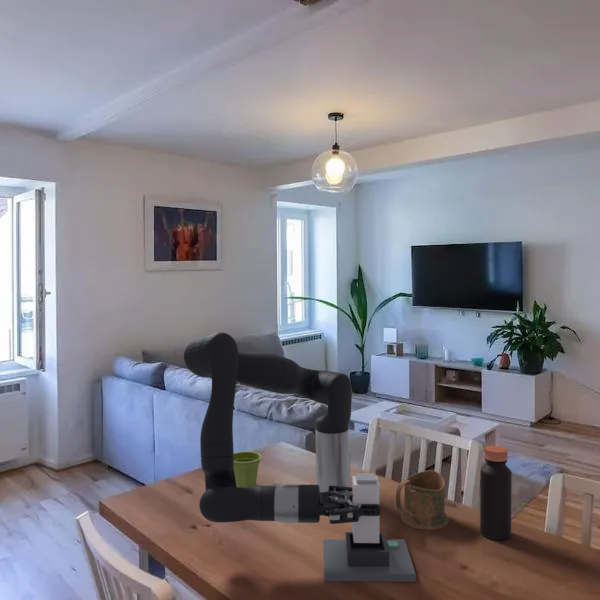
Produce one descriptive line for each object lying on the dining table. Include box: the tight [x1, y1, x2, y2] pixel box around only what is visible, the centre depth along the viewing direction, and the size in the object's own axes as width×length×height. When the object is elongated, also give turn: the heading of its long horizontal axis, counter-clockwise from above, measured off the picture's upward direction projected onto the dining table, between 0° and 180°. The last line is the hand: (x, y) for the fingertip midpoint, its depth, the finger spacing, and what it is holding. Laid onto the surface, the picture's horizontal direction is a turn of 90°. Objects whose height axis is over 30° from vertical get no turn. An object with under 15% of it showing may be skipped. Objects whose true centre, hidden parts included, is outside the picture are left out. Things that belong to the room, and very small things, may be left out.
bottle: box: [479, 445, 512, 541], centre depth 127 cm, size 7×7×20 cm
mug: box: [395, 469, 450, 531], centre depth 133 cm, size 12×18×12 cm, turn 137°
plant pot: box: [233, 451, 262, 488], centre depth 157 cm, size 9×9×9 cm
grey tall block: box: [351, 472, 381, 543], centre depth 115 cm, size 5×5×13 cm
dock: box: [323, 531, 417, 583], centre depth 115 cm, size 18×14×4 cm
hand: (378, 504), depth 115 cm, fingers closed on grey tall block, 5 cm apart
